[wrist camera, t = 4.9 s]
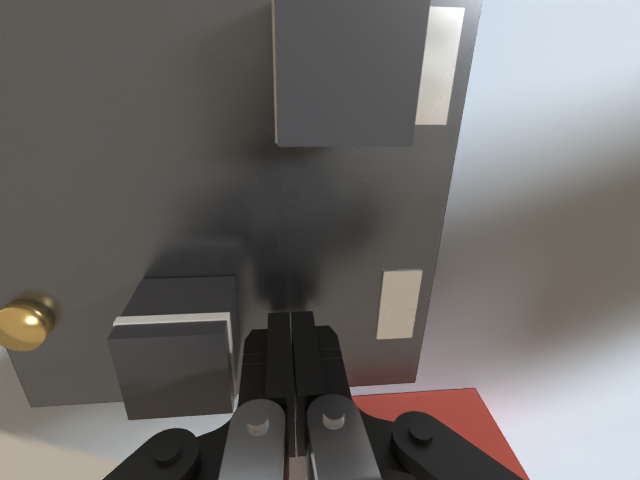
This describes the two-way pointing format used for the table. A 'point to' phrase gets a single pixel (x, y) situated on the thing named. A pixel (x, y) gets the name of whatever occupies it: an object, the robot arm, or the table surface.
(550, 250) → the table surface
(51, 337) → the breaker panel
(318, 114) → the breaker
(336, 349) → the robot arm
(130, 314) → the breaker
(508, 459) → the red cube
